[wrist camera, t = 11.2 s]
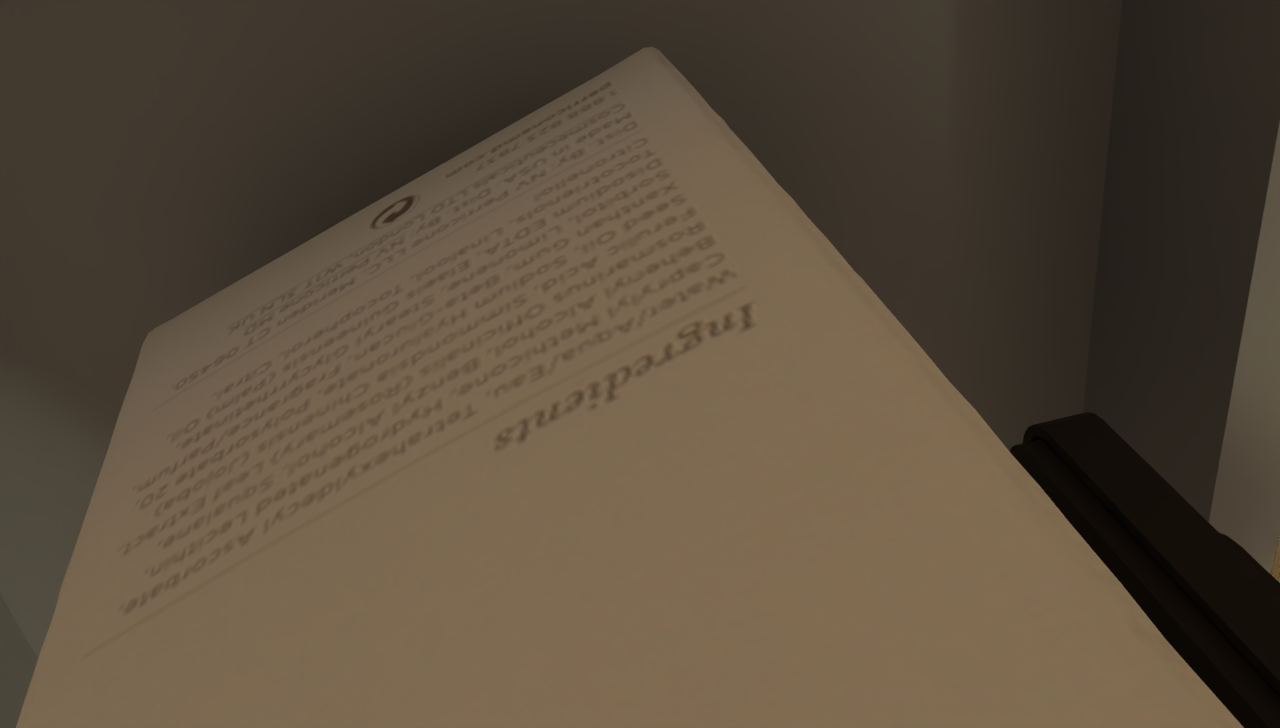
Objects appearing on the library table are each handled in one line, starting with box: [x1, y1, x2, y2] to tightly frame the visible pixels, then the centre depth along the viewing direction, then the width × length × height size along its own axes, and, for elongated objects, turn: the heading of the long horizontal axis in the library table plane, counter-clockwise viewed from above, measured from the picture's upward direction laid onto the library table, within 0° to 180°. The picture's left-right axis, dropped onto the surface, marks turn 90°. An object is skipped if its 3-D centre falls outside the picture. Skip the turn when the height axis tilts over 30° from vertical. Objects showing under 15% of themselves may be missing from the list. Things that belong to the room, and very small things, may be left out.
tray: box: [0, 0, 1280, 728], centre depth 13 cm, size 16×17×4 cm
